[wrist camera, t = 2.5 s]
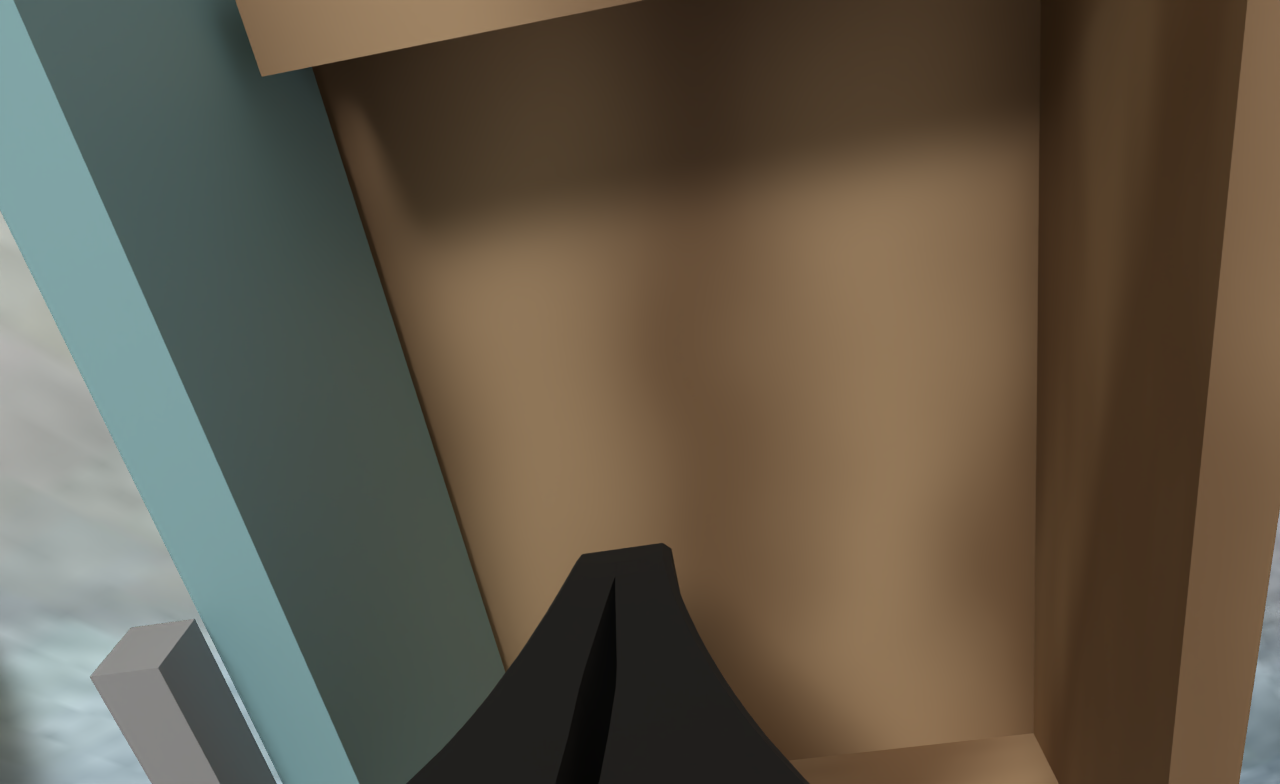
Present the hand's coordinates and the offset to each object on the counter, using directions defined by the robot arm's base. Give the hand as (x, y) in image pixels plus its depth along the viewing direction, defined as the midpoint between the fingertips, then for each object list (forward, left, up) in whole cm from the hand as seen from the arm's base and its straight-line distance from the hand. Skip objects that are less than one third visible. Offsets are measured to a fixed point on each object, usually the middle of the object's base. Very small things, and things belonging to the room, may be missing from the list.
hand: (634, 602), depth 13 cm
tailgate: (+5, 0, -4) cm, 6 cm away
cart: (-2, 0, -6) cm, 6 cm away
